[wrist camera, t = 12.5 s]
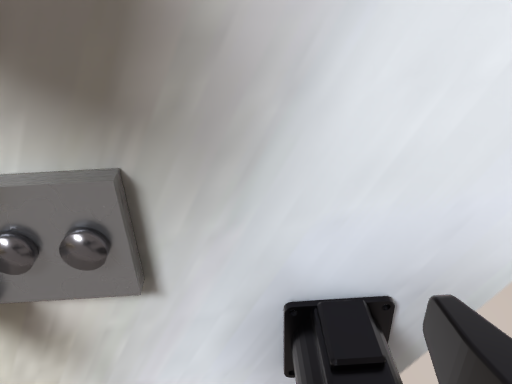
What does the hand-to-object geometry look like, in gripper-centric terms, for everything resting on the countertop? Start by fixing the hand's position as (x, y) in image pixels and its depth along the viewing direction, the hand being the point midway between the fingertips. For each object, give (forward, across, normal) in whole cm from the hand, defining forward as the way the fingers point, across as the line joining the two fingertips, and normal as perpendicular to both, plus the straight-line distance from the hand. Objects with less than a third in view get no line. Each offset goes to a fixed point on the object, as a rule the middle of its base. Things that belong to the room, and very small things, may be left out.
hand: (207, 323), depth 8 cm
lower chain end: (+12, +12, +6) cm, 18 cm away
